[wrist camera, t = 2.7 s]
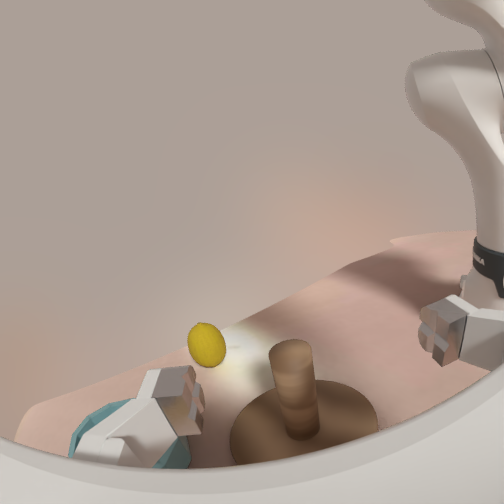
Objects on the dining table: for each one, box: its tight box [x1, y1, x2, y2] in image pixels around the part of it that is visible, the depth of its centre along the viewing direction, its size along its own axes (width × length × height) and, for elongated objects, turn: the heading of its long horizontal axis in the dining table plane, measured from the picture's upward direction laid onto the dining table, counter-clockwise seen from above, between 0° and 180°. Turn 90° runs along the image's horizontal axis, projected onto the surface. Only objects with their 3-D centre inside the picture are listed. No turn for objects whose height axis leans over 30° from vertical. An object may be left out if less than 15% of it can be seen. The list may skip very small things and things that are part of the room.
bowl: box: [68, 398, 192, 469], centre depth 23 cm, size 14×14×4 cm
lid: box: [230, 339, 378, 465], centre depth 24 cm, size 16×16×12 cm
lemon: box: [188, 323, 226, 367], centre depth 40 cm, size 6×6×8 cm
